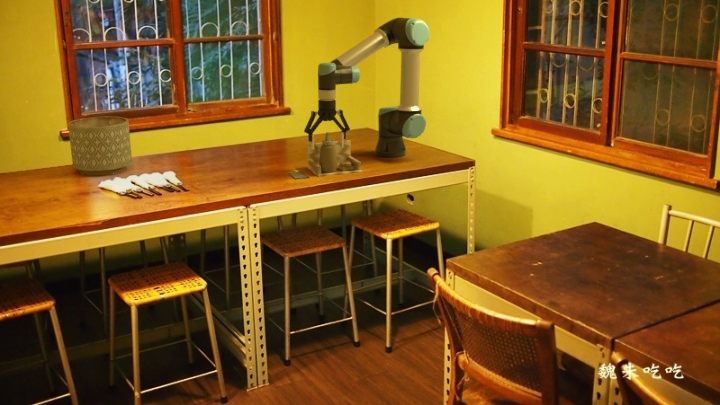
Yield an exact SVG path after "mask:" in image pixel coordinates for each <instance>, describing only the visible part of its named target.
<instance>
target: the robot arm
mask: <svg viewBox="0 0 720 405" xmlns="http://www.w3.org/2000/svg"><path fill="white" fill-rule="evenodd" d="M429 39H430V28H429V26H428V25H427V24H426V22H425V21H424V20H422V19H419V18H415V17H414V18H411V17H396V18H393V19H390V20H389V21H388V20H387V21H386V22H384V23H383V24H381V25H380V26H379V27H377V28H376V29H374V32H373V33H372V34H371V35H369V36H368V37H365V38H364V39H363V40H361V41H360V42H359V43H357V44H355V45H354V46H353V47H351V48H350V49H348V50H347V51H345V52H344V53H342V54H341V55H339V56H338V57H336V58H334V59H333V60H331V61H330V62H320V63H319V64H318V66H317V89H318V90H317V93H318V95H317V98H318V100H317V103H318V107H317V108H318V109H317V111H314V110H311V112H310V117H309V119H308V121H307V122H306V126H305V127H304V130H303V132H304V133H306V134H308V135H307V136H308V142H310V144H311V149H312V150H313V149H314V143H315V134H314V132H315V131H316V130H317V128H318V127H319V125H320V124H321V123H323V122H332V121H333V122H334V123H335V125H336V126H337V127H338V128H339V129H340V132H339V141H340V146H341V147H344V141H345V140H346V138H347V136H346V134H347V132H348V131H350V130H351V128H350V126H349V125H348V122H347V120H346V118H345V116H344V110H342V109H340V108H339V109H338V110H336V109H337V106H336V105H337V100H336V98H337V96H336V94H337V93H336V87H337V86H338V85H349V84H350V85H352V84H357V83H358V82H359V81H360V79H361V70H360V69H359V67H357V65H358V64H361V62H363V61H364V60H366V59H368V58H369V57H371V56H372V55H373V54H375V53H376V52H378V51H379V50H381V49H382V48H388V47H389V46H391V45H393V44H394V45H396V44H397V49H398V50H399V52H400V53H401V55H400V56H401V57H400V58H401V59H400V60H401V61H400V83H399V84H400V85H399V86H400V91H399V93H400V94H399V105H395V106H383V107H380V108H379V109H378V115H377V118H378V125H377V126H378V139H377V143H376V145H375V148H374V155H376V156H378V157H381V158H382V157H383V158H399V157H403V156H406V155H407V147H406V144H405V141H404V138H406V139H417V138H419V137H421V136H422V134H423V133H424V132H425V129H426V127H427V121H426V118H425V117H424V115H422V108H421V107H420V104H419V100H420V98H419V97H420V69H421V68H420V67H421V66H420V65H421V52H422V51H423V50H424V49H425V48H424V46H425V45H426V44H427V43H428V41H429ZM336 115H338V116H339V119H340V121H341V122H342V123H341V122H340V121H339V120H338V119H337V117H336ZM317 116H318V118H317V119H316V121H315V118H316V117H317ZM314 121H315V122H314ZM342 124H343V125H342ZM403 137H404V138H403Z"/></svg>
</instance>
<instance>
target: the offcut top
mask: <svg viewBox="0 0 720 405" xmlns="http://www.w3.org/2000/svg"><path fill="white" fill-rule="evenodd" d="M340 165H341V166H342V168H346V167H351V163H350V162H349V161H346V162H340Z"/></svg>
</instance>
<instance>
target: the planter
mask: <svg viewBox="0 0 720 405" xmlns="http://www.w3.org/2000/svg"><path fill="white" fill-rule="evenodd" d="M67 126H68V135H69V142H70V152H71V161H72V162H71V163H72V167H73V168H74V169H75V170H79V174H81V173H82V174H81V175H83V174H86V175H85V176H89V175H104V176H108V175H107V174H112V175H114V174H113V173H117V174H119V173H118V172H121V171H123V172H125V171H126V170H128V169H127V168H128V166H130V165H131V164H132V163H133V156H132V146H131V145H132V144H131V136H130V135H131V134H130V123H129V119H128V118H127V117H126V118H125V117H122V116H121V117H120V116H92V117H91V116H90V117H84V118H78V119H74V120H71V121H69V122H68V123H67ZM124 170H125V171H124ZM121 173H122V172H121Z"/></svg>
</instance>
